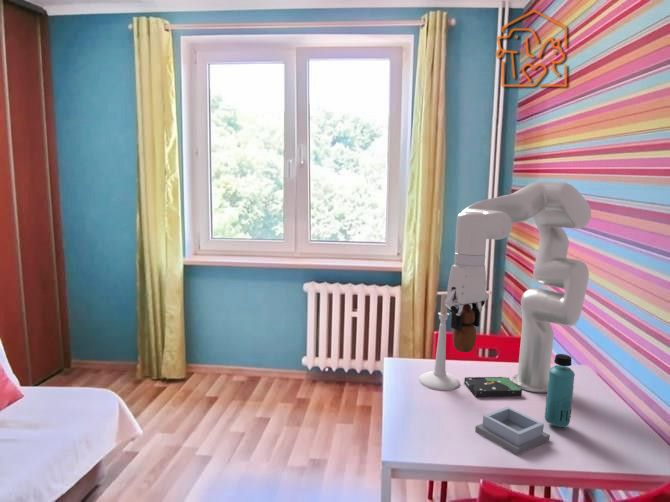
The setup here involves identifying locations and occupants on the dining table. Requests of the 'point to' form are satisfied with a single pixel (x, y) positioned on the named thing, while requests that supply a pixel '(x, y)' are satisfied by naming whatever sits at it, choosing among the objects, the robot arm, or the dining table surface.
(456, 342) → the wooden figurine
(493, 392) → the disk drive
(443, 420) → the dining table surface
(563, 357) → the beverage bottle
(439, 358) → the candlestick
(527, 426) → the figurine dock
